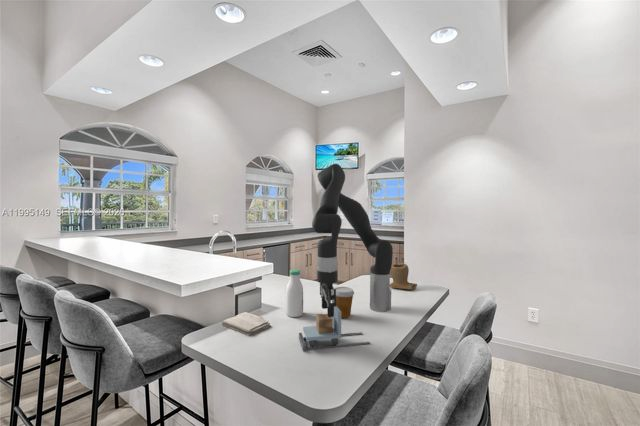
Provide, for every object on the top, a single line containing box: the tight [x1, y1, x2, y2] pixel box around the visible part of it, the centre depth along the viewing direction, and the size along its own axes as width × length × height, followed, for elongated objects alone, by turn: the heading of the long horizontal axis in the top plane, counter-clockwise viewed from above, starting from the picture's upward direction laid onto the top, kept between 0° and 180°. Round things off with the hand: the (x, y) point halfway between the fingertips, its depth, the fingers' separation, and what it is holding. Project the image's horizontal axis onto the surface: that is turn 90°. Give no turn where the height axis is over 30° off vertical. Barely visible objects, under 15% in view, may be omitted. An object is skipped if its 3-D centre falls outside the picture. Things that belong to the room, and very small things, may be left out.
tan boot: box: [390, 262, 418, 291], centre depth 177 cm, size 15×12×15 cm
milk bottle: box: [285, 269, 304, 318], centre depth 134 cm, size 8×8×20 cm
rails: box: [298, 331, 371, 352], centre depth 109 cm, size 24×10×2 cm, turn 102°
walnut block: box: [315, 313, 333, 334], centre depth 108 cm, size 5×5×5 cm
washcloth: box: [221, 311, 271, 337], centre depth 122 cm, size 12×18×3 cm, turn 55°
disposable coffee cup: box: [334, 286, 355, 320], centre depth 133 cm, size 10×10×12 cm
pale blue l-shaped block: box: [302, 306, 342, 347], centre depth 108 cm, size 12×9×12 cm
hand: (327, 312), depth 109 cm, fingers open, 8 cm apart
